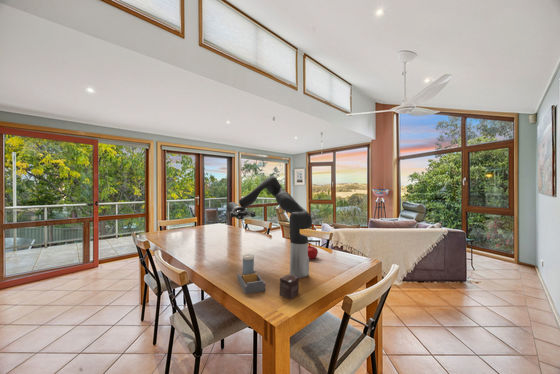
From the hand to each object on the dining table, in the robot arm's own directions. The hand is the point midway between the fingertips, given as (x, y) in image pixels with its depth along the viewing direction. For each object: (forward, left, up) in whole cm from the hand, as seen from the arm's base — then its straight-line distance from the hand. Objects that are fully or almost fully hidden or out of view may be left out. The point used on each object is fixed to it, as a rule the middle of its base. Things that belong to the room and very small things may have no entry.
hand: (245, 215), depth 124 cm
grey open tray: (+2, +19, -30) cm, 36 cm away
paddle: (+2, +18, -29) cm, 35 cm away
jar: (+2, +15, -30) cm, 33 cm away
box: (-11, +34, -30) cm, 47 cm away
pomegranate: (-45, -6, -30) cm, 55 cm away
